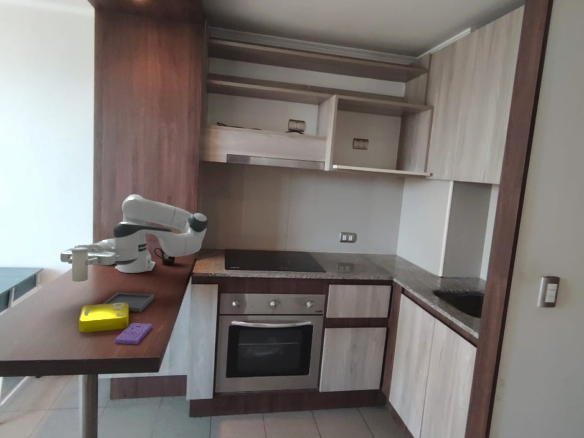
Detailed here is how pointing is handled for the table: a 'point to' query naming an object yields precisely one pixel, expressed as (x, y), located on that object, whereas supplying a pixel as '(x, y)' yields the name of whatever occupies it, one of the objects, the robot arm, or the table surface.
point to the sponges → (133, 333)
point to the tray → (131, 300)
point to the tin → (79, 264)
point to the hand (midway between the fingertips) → (78, 262)
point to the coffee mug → (165, 258)
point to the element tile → (104, 317)
